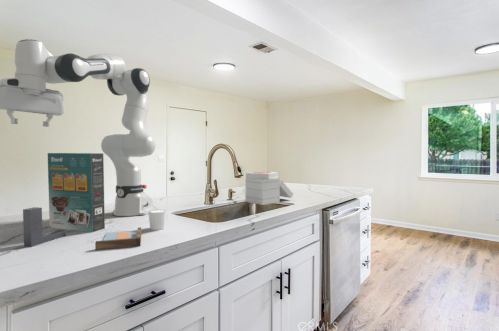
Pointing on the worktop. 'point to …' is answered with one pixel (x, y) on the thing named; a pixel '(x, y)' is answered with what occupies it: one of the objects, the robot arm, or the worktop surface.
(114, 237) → the mat
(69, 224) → the cake mix box
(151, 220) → the white cylinder
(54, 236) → the bracket
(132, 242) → the corner walls
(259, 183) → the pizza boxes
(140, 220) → the worktop surface
